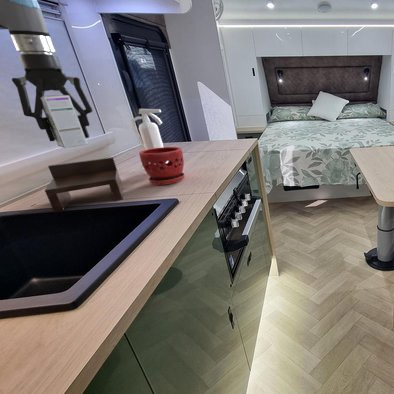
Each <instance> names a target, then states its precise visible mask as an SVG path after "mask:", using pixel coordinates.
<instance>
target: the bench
mask: <svg viewBox="0 0 394 394" xmlns="http://www.w3.org/2000/svg"><path fill="white" fill-rule="evenodd" d="M47 168H48V170H49V172H50V174H51V177H52V179H51V181H50V183H49V184H48V185H47V186H46V188H45V189H44V193H45V195H46V197H47V199H48V201H49V203H50V206H51V208H52V211H53V212H54V213H55V214H56V213H60V212H63V211H62V210H63V208H64V207H65V206H66V207H67V205H68V203H69V201H70V199H71V193H70V192H75V191H79V190H80V191H81V190H85V189H86V190H87V189H93V188H99V187H103V186H109V189H110V192H111V194H112V197H113V200H114V202H119V201H123V200H124V186H123V183H122V180H121V177H120V174H119V171H118V168H117V165H116V162H115V159H114V157H105V158H97V159H89V160H81V161H73V162H66V163H58V164H51V165H48V166H47ZM66 207H65V208H66Z"/></svg>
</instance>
